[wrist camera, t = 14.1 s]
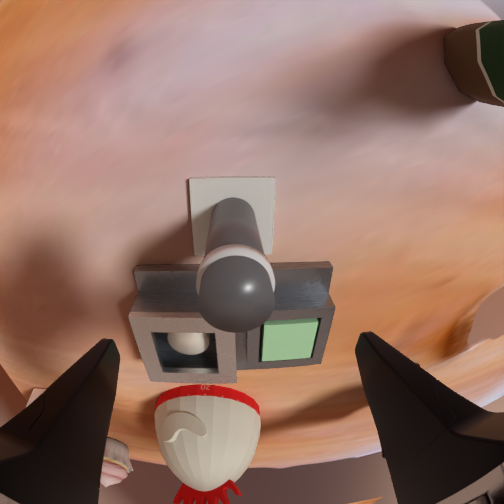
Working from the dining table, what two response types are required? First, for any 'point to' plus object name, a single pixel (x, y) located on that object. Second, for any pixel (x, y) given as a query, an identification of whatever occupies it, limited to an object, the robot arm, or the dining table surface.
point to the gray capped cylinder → (235, 271)
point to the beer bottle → (478, 60)
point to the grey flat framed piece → (220, 342)
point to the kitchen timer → (207, 439)
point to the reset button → (189, 342)
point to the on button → (287, 339)
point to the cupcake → (115, 462)
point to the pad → (218, 188)
